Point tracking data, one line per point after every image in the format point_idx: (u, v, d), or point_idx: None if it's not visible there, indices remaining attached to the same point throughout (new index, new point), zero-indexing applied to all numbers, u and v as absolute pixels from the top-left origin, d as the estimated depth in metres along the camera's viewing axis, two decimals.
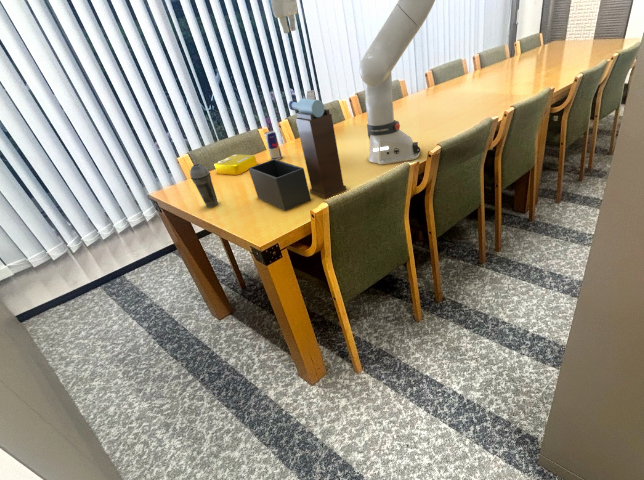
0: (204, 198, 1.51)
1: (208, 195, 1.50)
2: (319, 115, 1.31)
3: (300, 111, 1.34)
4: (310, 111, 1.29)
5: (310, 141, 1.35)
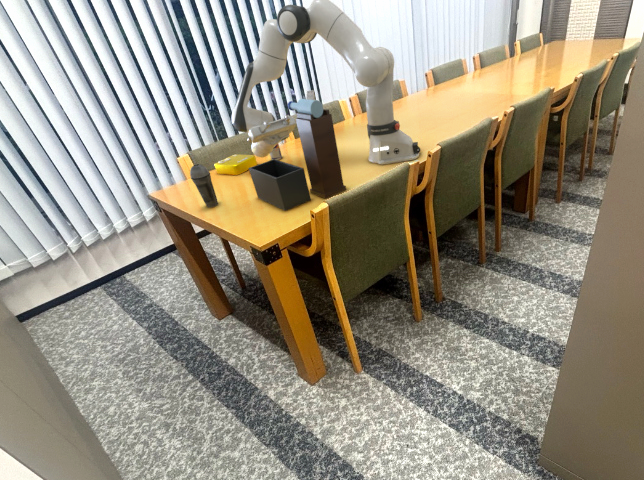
0: (204, 198, 1.51)
1: (208, 195, 1.50)
2: (319, 115, 1.31)
3: None
4: (309, 113, 1.29)
5: (310, 141, 1.35)
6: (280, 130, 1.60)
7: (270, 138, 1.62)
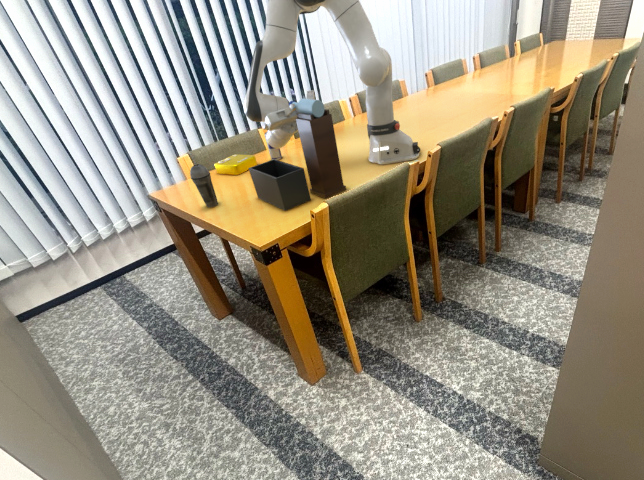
0: (204, 198, 1.51)
1: (208, 195, 1.50)
2: (319, 115, 1.31)
3: (300, 111, 1.34)
4: (310, 111, 1.29)
5: (310, 141, 1.35)
6: None
7: (288, 126, 1.46)
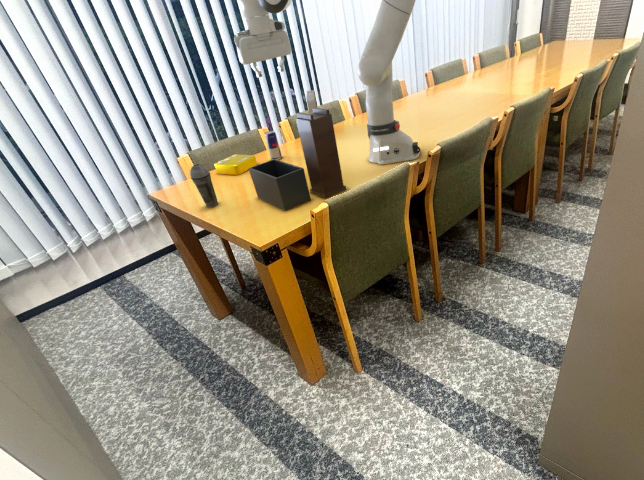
0: (204, 198, 1.51)
1: (208, 195, 1.50)
2: None
3: None
4: None
5: (310, 141, 1.35)
6: None
7: None
